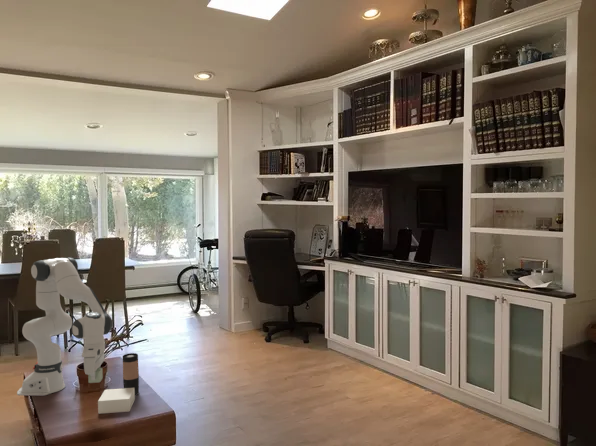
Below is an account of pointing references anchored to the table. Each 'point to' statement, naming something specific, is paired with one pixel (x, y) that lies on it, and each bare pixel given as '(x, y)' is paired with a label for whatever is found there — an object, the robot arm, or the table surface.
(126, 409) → the box
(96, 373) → the sage cube
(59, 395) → the table surface
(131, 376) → the travel mug
